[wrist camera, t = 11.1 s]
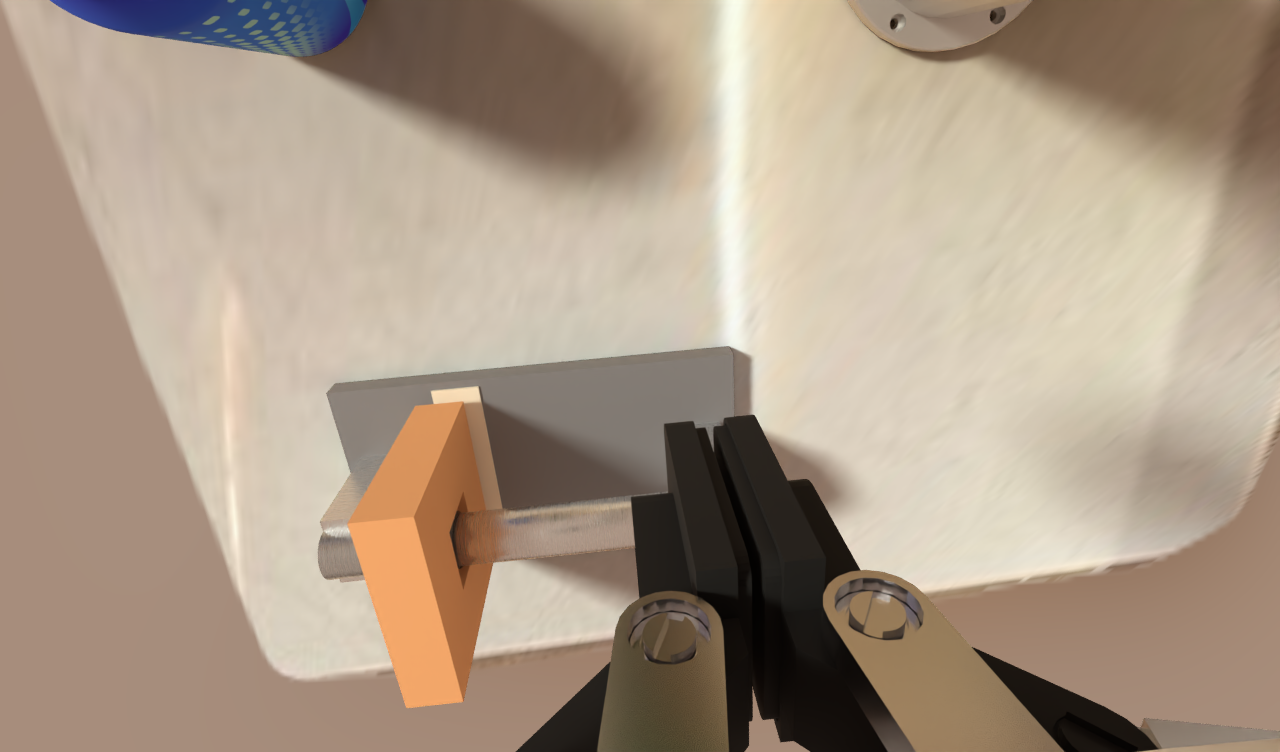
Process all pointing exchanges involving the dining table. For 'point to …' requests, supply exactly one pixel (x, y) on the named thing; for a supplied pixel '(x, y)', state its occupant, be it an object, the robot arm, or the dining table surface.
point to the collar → (424, 554)
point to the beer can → (230, 21)
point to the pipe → (489, 527)
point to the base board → (552, 420)
